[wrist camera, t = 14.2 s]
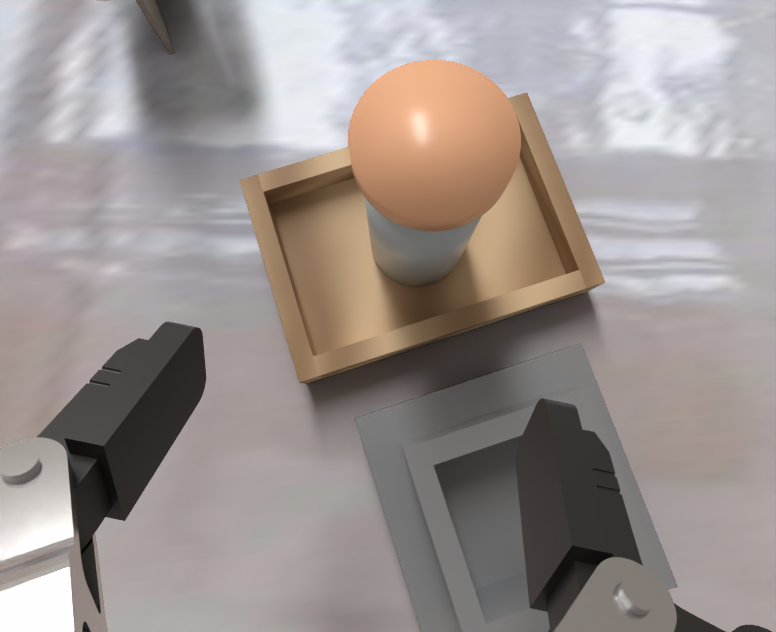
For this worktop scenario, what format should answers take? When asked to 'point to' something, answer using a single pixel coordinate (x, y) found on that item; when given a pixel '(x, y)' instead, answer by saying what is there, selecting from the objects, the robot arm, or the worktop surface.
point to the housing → (483, 490)
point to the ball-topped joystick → (430, 164)
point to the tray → (391, 299)
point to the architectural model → (155, 20)
